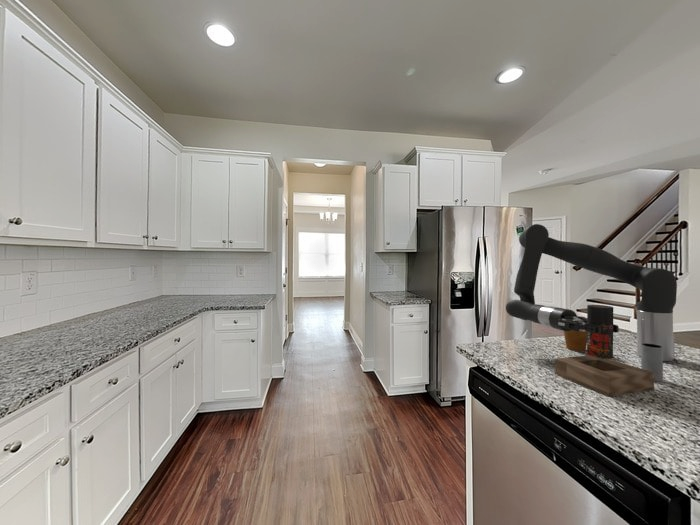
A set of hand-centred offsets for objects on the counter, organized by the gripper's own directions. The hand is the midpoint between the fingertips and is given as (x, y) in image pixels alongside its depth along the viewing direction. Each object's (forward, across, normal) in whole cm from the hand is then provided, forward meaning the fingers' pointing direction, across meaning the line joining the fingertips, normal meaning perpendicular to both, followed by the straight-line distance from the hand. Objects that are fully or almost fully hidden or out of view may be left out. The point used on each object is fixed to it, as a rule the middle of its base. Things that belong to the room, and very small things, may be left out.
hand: (608, 329), depth 84 cm
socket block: (-2, 0, +16) cm, 16 cm away
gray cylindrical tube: (0, +17, +16) cm, 24 cm away
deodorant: (-2, 0, +9) cm, 9 cm away
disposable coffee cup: (-29, +23, +17) cm, 41 cm away
